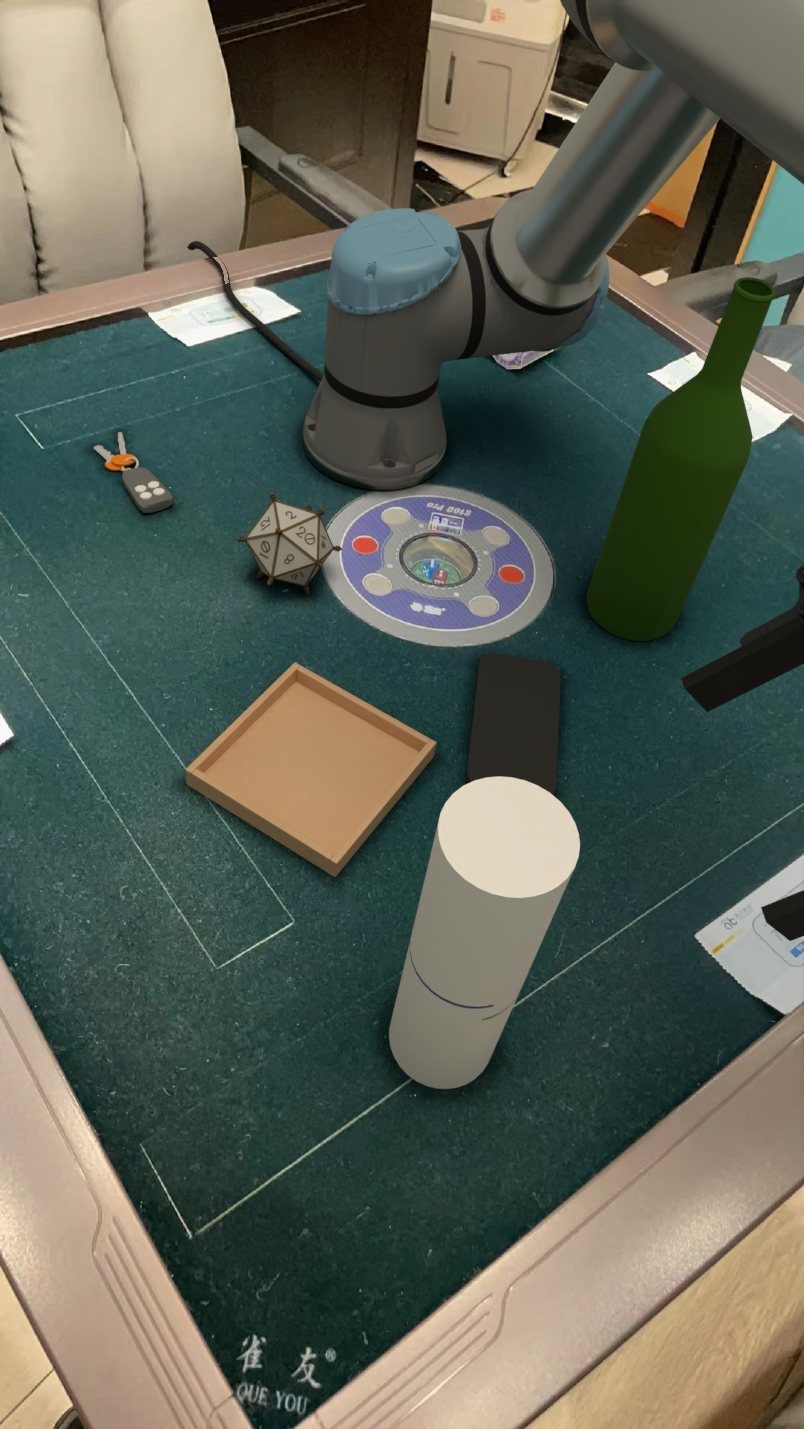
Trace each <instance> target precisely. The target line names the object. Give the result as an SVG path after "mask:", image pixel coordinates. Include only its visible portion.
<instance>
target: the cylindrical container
mask: <svg viewBox="0 0 804 1429" xmlns="http://www.w3.org/2000/svg"><path fill="white" fill-rule="evenodd" d="M580 850H581V840H580V834H579V830H578V827H577V824H576V821H575V820H574V818H573V816H572V814H571V813H570V811H569V810H568V809H567V807H565V804H563V803H562V801H560V800H559V799H558V798H557V797H556V796H555V795H554V796H553V795H552V794H551V793H550V792H548V791H546V790H545V789H543V788H541V787H539V786H538V785H535V784H533V783H530V782H528V781H525V780H521V779H517V778H512V777H500V776H498V777H487V778H483V779H479V780H475V781H472V782H470V783H468V782H467V783H466V784H463V785H462V786H461V787H460V788H458V789H457V790H455V791H454V792H453V793H452V794H451V795H450V796H449V798H448V799H447V800H446V801H445V803H444V805H443V806H442V808H441V811H440V814H439V818H438V821H437V827H436V830H435V834H434V838H433V843H432V847H431V851H430V855H429V860H428V863H427V867H426V872H425V876H424V881H423V884H422V889H421V892H420V898H419V902H418V905H417V910H416V914H415V919H414V921H413V922H414V923H413V927H412V930H411V931H412V932H411V935H410V940H409V944H408V948H407V951H406V956H405V960H404V964H403V967H402V968H403V969H402V974H401V977H400V981H399V986H398V990H397V994H396V998H395V1002H394V1007H393V1011H392V1014H391V1020H390V1024H389V1027H388V1042H389V1047H390V1050H391V1052H392V1055H393V1058H394V1060H395V1061H396V1063H397V1065H398V1066H399V1068H400V1069H401V1070H402V1071H403V1072H404V1073H405V1074H406V1075H407V1076H409V1078H411V1079H412V1080H414V1081H415V1082H417V1083H419V1084H420V1085H423V1086H425V1087H429V1088H433V1089H437V1090H451V1089H457V1088H460V1087H463V1086H466V1085H467V1084H468V1085H469V1083H471V1082H473V1081H475V1080H476V1079H477V1078H478V1077H479V1076H480V1075H481V1074H482V1073H483V1072H484V1071H485V1069H486V1067H487V1066H488V1064H489V1063H490V1060H491V1059H492V1056H493V1054H494V1052H495V1049H496V1046H497V1044H498V1042H499V1040H500V1038H501V1036H502V1034H503V1031H504V1029H505V1026H506V1024H507V1022H508V1021H509V1020H508V1019H509V1018H510V1015H511V1013H512V1011H513V1008H514V1006H515V1005H516V1001H517V999H518V997H519V995H520V992H521V990H522V989H523V987H524V983H525V982H526V979H527V977H528V975H529V972H530V970H531V968H532V966H533V963H534V961H535V959H536V956H537V954H538V952H539V949H540V947H541V946H542V945H541V944H542V942H543V940H544V939H545V936H546V934H547V932H548V930H549V927H550V925H551V923H552V920H553V918H554V916H555V914H556V911H557V909H558V906H559V904H560V902H561V900H562V898H563V895H564V893H565V891H566V889H567V886H568V884H569V882H570V880H571V878H572V875H573V872H574V871H575V868H576V865H577V862H578V860H579V857H580Z"/></svg>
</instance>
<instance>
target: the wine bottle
mask: <svg viewBox="0 0 804 1429" xmlns="http://www.w3.org/2000/svg"><path fill="white" fill-rule="evenodd" d="M732 286H733V287H732V288H733V289H732V291H731V294H730V296H729V298H728V300H727V304H726V306H725V309H724V311H723V314H722V316H721V319H720V321H719V324H718V326H717V330H716V331H715V334H714V337H713V340H712V342H711V345H710V347H709V350H708V352H707V354H706V358H705V360H704V363H703V365H702V368H701V370H699V372H697V373H696V375H694V376H693V377H692V378H690V379H689V380H687V381H686V382H684V383H683V384H682V385H681V386H680V387H678V388H676V389H675V390H674V391H672V392H671V393H670V394H668V395H667V396H666V397H664V398H663V399H661V400H660V401H659V402H658V403H657V404H656V405H654V407H653V409H652V410H651V411H650V413H649V415H648V416H647V418H646V419H645V420H644V424H643V426H642V428H641V431H640V434H639V437H638V441H637V443H636V447H635V449H634V453H633V454H632V458H631V461H630V464H629V467H628V470H627V473H626V476H625V478H624V482H623V485H622V488H621V491H620V494H619V497H618V500H617V503H616V505H615V508H614V512H613V515H612V517H611V520H610V524H609V527H608V529H607V531H606V532H607V533H606V535H605V539H604V541H603V545H602V546H601V550H600V553H599V556H598V559H597V562H596V566H595V568H594V571H593V574H592V576H591V580H590V583H589V586H588V589H587V592H586V607H587V610H588V612H589V615H590V616H591V617H592V619H593V620H594V621H595V623H596V624H597V625H599V626H600V627H601V628H602V629H603V630H605V631H607V632H609V633H610V634H612V635H613V636H615V637H619V638H621V639H625V640H627V641H628V640H629V641H634V642H635V641H636V642H649V641H654V640H658V639H661V638H662V637H664V636H665V635H667V634H669V633H670V632H671V631H672V630H673V628H674V627H675V626H676V625H677V623H678V621H679V618H680V616H681V614H682V612H683V609H684V608H685V604H686V602H687V600H688V597H689V596H690V593H691V591H692V589H693V586H694V585H695V582H696V580H697V577H698V575H699V574H700V571H701V568H702V566H703V564H704V561H705V559H706V557H707V555H708V553H709V550H710V548H711V546H712V544H713V541H714V539H715V536H716V535H717V532H718V530H719V527H720V526H721V523H722V520H723V518H724V517H725V514H726V512H727V509H728V507H729V504H730V503H731V500H732V498H733V495H734V493H735V492H736V489H737V487H738V484H739V482H740V480H741V478H742V475H743V473H744V471H745V468H746V466H747V464H748V461H749V458H750V454H751V449H752V442H753V432H752V427H751V424H750V419H749V416H748V412H747V407H746V404H745V399H744V395H743V390H742V380H743V377H744V374H745V372H746V369H747V366H748V364H749V362H750V359H751V357H752V354H753V352H754V349H755V346H756V343H757V341H758V338H759V335H760V333H761V330H762V328H763V325H764V323H765V320H766V317H767V315H768V312H769V310H770V308H771V304H772V302H773V300H774V298H775V296H776V290H775V288H774V287H773V286H772V285H771V284H770V283H769V282H767V281H765V280H762V279H760V278H757V277H751V276H748V277H747V276H746V277H740V278H738V279H736V280H735V281H734V283H733V285H732Z"/></svg>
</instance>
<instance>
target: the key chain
mask: <svg viewBox="0 0 804 1429" xmlns="http://www.w3.org/2000/svg"><path fill="white" fill-rule="evenodd" d="M117 443H118V450H119V454H116V455H114V454H112V452H111V451H110V450H108V449H106V448H105V446H103V445H100V444H98V445H95V446H93V447H92V449H93V450H94V451H95V452H97V453H98V454H99V455H100V456H101V457H102V458H103V459H105V461H106V462H105V463H104V467H105V468H106V469H107V470H109V471H115V472H118V471H120V472H122V473H121V481H122V484H123V486H124V488H125V490H126V491H127V492H128V494H129V496H130V498H131V499H132V501H133V502H134V503H135V505H136V507H137V508H138V510H139V511H141V512H142V513H145V514H153V513H156V512H161V511H163V510H165V509H168V508H170V507H171V506H172V505H173V504H174V497H173V495H172V493H171V492H170V491H169V489H167V487H166V486H165V485H164V484H163V483H162V482H161V481H160V480H159V479H158V478H157V477H156V475H154V474H153V472H152V471H150V470H149V469H147V468H146V467H142V466H140V462H139V459H138V458H137V457H136V456H135V455H134V454H131V453H127V450H126V442H125V440H124V435H123V432H122V431H118V432H117ZM134 464H135V466H134V467H133V468H131V467H127V466H131V465H134Z"/></svg>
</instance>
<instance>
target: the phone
mask: <svg viewBox="0 0 804 1429" xmlns="http://www.w3.org/2000/svg"><path fill="white" fill-rule="evenodd" d="M561 680H562V674H561V671H560V668H559V667H558V666H557V665H555V664H553V663H551V662H547V661H540V660H536V659H535V660H534V659H530V658H523V657H518V656H511V655H505V654H499V653H491V652H490V653H485V654H483V655H481V657H480V659H479V662H478V667H477V674H476V685H475V693H474V703H473V711H472V719H471V720H472V721H471V729H470V734H469V735H470V736H469V743H468V754H467V756H468V757H467V758H468V759H467V764H466V765H467V766H466V776H465V779H466V782H467V784H468V783H470V782H472V781H475V780H479V779H483V778H487V777H498V776H500V777H512V778H517V779H521V780H525V781H528V782H530V783H533V784H535V785H538V786H539V787H541V788H543V789H545V790H546V791H548V792H550V793H551V794H552V795H553V796H554V797H555V793H556V790H557V784H558V765H559V735H560V734H559V731H560V710H561V709H560V708H561V707H560V706H561V704H560V703H561V684H562V681H561Z"/></svg>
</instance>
